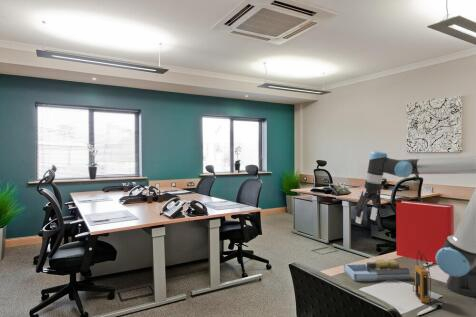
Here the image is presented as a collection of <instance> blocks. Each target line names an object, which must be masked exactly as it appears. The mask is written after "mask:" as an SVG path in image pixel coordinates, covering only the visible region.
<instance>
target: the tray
mask: <svg viewBox="0 0 476 317" xmlns="http://www.w3.org/2000/svg"><path fill="white" fill-rule="evenodd" d="M366 266H367V263H350V264H349V263H345V264H343V271H344V273H345V274H346V275H348V276H349V277H350V279H352V280H353V281H354V282H374V281H375V282H376V281H378V280H377V273H369V272H368V271H367V270H366Z"/></svg>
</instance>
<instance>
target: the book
mask: <svg viewBox="0 0 476 317" xmlns="http://www.w3.org/2000/svg"><path fill="white" fill-rule="evenodd" d="M395 206H396V207H395V208H396V209H395V215H396V216H395V224H396V226H395V228H396V229H395V230H396V234H395V235H396V238H395V239H396V240H395V242H396V256H398V257H402V258H408V259H413V260H416V261H420V262H421V261H422V262H426V260H427V262H426V263H430V262H433V263H432V264H435V265H438V264H437V262H436V254H437V252H438V251H439V250H440V249H441V248H443V246H444V244H445V241H446V239H447V237H448V236H452V235H454V233H455V230H454V228H455V227H454V226H455V225H454V221H455V219H454V211H455V209H454V208H455V207H454V205H453V204H445V203H434V202H433V203H432V202H423V201H422V202H421V201H412V200H402V199H401V201H395ZM418 250H419V252H420V253H418ZM417 254H418V256H417ZM420 254H421V255H420ZM422 254H424V255H425V257H426V259H425V257H424V255H422Z"/></svg>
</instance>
